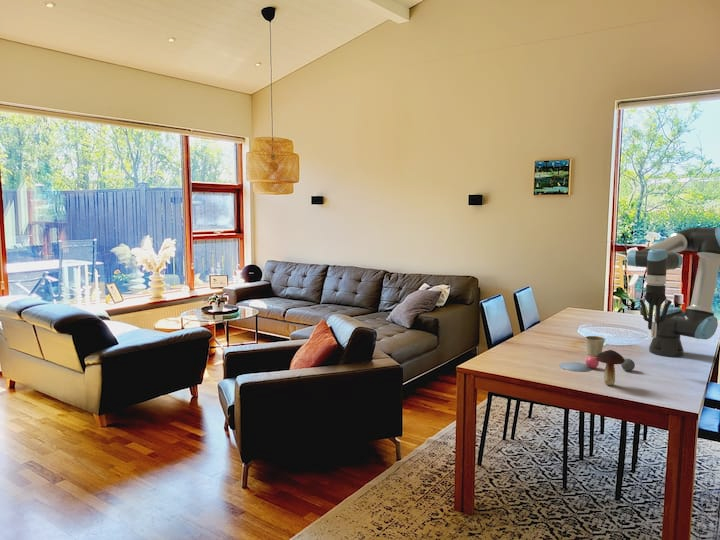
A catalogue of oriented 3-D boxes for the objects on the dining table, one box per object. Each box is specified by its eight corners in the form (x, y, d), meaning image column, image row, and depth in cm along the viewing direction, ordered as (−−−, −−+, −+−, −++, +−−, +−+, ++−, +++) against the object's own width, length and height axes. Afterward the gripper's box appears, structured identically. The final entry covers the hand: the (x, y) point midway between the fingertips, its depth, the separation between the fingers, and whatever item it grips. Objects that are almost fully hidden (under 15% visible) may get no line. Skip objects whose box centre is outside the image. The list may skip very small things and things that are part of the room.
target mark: (590, 363, 251) (590, 363, 251) (593, 372, 237) (593, 372, 237) (558, 361, 255) (558, 361, 255) (560, 370, 241) (560, 369, 241)
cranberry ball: (597, 366, 246) (598, 355, 245) (599, 370, 241) (599, 358, 240) (584, 365, 247) (585, 354, 247) (586, 369, 242) (586, 357, 242)
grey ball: (633, 369, 242) (633, 357, 241) (635, 373, 236) (636, 361, 236) (619, 368, 243) (620, 356, 242) (622, 372, 238) (622, 360, 237)
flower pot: (603, 352, 269) (603, 336, 268) (606, 358, 260) (607, 340, 259) (583, 351, 271) (583, 335, 270) (585, 356, 262) (586, 339, 261)
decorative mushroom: (615, 391, 214) (616, 355, 212) (589, 384, 222) (591, 349, 221) (628, 385, 220) (630, 350, 218) (603, 379, 229) (605, 345, 227)
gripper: (640, 285, 231) (638, 337, 233) (675, 286, 227) (672, 339, 229) (637, 282, 238) (634, 333, 241) (670, 283, 234) (667, 335, 237)
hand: (652, 336), depth 235 cm, fingers closed
